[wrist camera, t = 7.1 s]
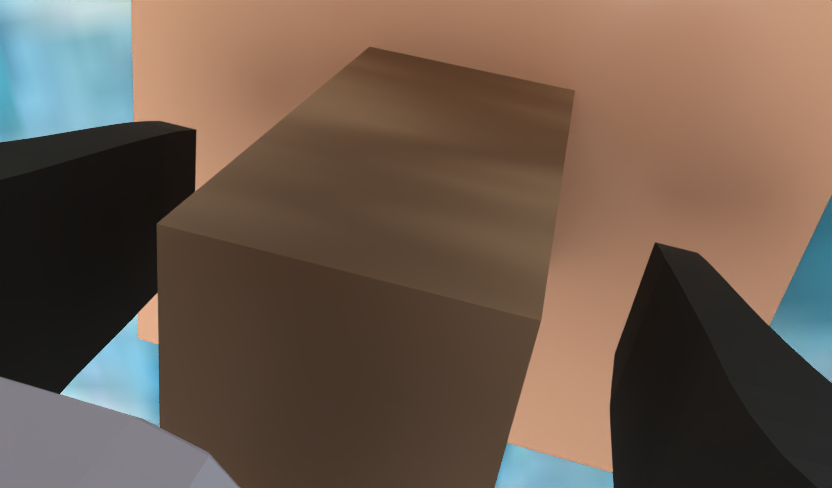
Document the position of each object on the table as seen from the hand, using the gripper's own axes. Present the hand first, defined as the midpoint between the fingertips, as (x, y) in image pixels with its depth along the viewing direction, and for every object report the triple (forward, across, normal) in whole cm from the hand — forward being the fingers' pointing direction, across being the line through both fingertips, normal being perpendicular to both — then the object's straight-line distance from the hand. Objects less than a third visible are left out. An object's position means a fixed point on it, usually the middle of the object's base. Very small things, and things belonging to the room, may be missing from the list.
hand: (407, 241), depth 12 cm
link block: (+4, 0, 0) cm, 4 cm away
